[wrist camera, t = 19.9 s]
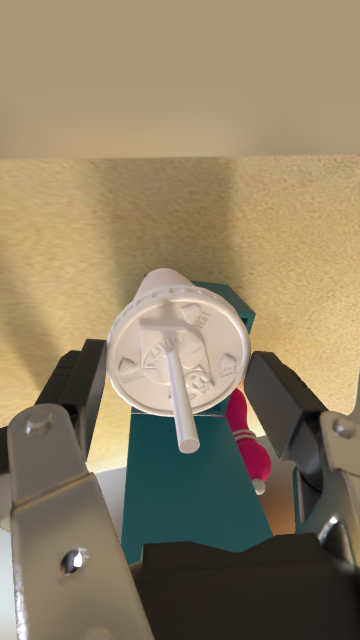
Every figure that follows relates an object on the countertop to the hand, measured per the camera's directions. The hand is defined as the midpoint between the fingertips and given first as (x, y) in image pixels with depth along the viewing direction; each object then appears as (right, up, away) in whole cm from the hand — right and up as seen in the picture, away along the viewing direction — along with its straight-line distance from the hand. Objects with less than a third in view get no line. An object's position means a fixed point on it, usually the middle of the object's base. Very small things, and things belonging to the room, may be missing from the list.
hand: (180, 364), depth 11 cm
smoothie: (-1, +4, +9) cm, 10 cm away
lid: (+1, -15, +16) cm, 22 cm away
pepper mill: (+8, -12, +39) cm, 42 cm away
